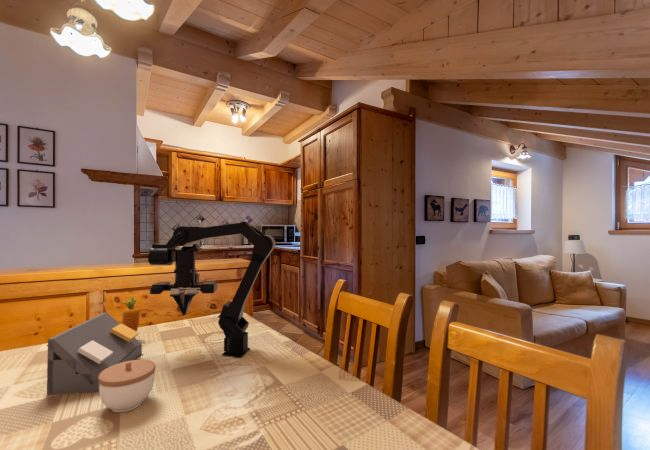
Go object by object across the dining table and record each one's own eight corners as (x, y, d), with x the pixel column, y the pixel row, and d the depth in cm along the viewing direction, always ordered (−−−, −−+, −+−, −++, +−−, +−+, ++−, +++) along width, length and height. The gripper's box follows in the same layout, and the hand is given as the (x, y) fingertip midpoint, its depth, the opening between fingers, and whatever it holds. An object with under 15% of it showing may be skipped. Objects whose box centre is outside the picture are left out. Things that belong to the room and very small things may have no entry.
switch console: (141, 353, 94) (142, 311, 94) (98, 391, 72) (99, 337, 72) (101, 355, 92) (102, 312, 92) (45, 394, 70) (46, 339, 71)
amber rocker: (139, 335, 92) (135, 319, 92) (131, 341, 87) (127, 324, 87) (122, 339, 92) (118, 323, 92) (113, 345, 87) (109, 329, 87)
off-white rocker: (113, 354, 79) (109, 336, 78) (102, 363, 74) (98, 343, 73) (93, 359, 78) (89, 340, 78) (80, 368, 73) (76, 348, 73)
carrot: (130, 344, 101) (131, 299, 101) (118, 343, 102) (119, 299, 102) (142, 339, 105) (143, 296, 106) (130, 338, 106) (131, 295, 107)
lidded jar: (111, 426, 60) (112, 379, 60) (88, 408, 66) (89, 365, 66) (164, 400, 69) (165, 359, 69) (140, 386, 75) (141, 348, 75)
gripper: (221, 262, 104) (220, 307, 104) (163, 262, 101) (163, 308, 101) (213, 266, 93) (212, 317, 93) (149, 267, 90) (148, 318, 90)
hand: (184, 314), depth 95 cm, fingers closed
